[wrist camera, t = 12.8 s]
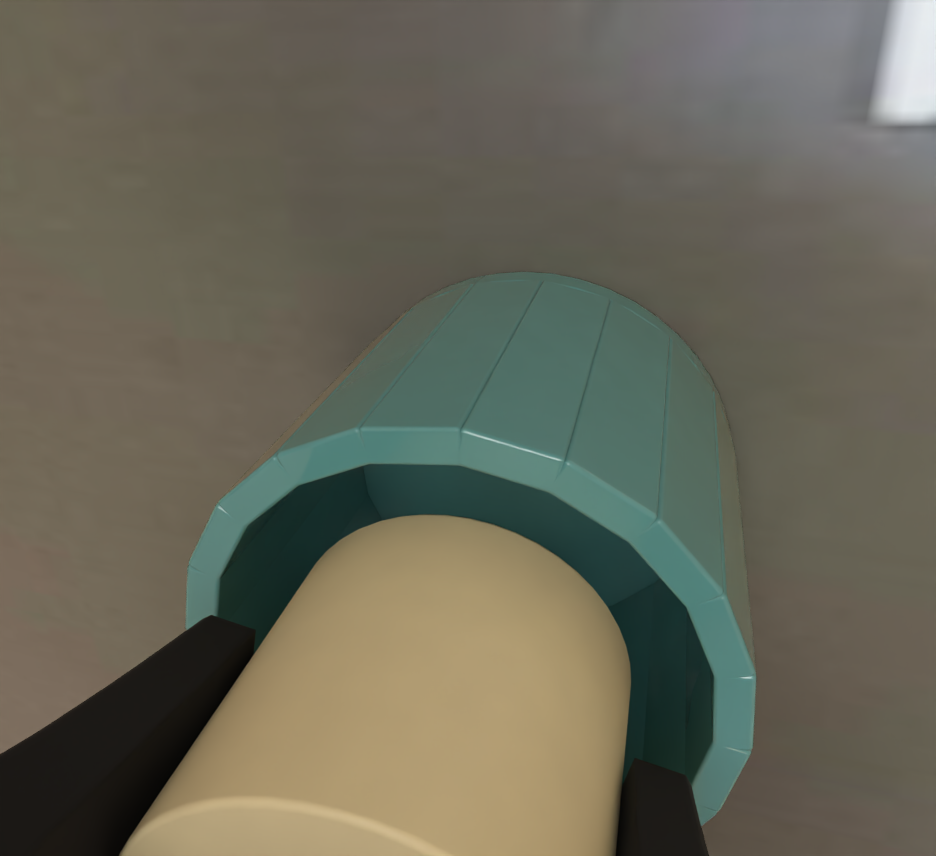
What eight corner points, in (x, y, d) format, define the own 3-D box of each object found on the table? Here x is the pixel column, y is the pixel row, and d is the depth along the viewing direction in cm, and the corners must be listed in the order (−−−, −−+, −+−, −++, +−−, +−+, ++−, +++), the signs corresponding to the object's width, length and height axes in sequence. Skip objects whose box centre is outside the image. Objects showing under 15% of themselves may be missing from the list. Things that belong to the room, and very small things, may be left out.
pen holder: (660, 656, 18) (646, 949, 12) (330, 551, 19) (178, 778, 13) (797, 336, 14) (866, 549, 9) (377, 223, 15) (192, 349, 10)
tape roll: (578, 820, 12) (527, 1194, 9) (285, 718, 13) (109, 1024, 9) (679, 578, 10) (672, 938, 6) (317, 467, 11) (99, 733, 7)
